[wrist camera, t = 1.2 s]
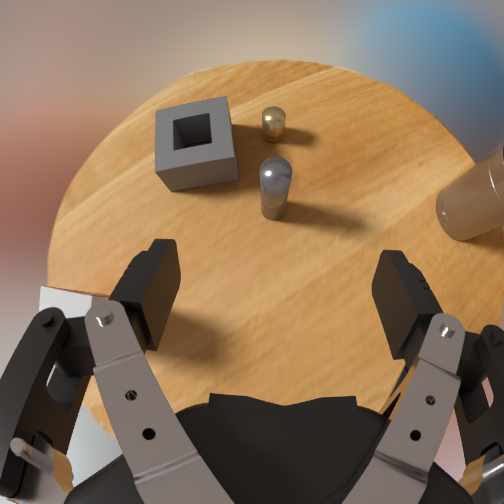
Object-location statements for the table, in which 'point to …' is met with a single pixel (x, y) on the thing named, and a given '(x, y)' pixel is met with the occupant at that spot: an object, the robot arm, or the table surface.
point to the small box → (69, 300)
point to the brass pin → (273, 124)
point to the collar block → (198, 157)
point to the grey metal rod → (274, 186)
